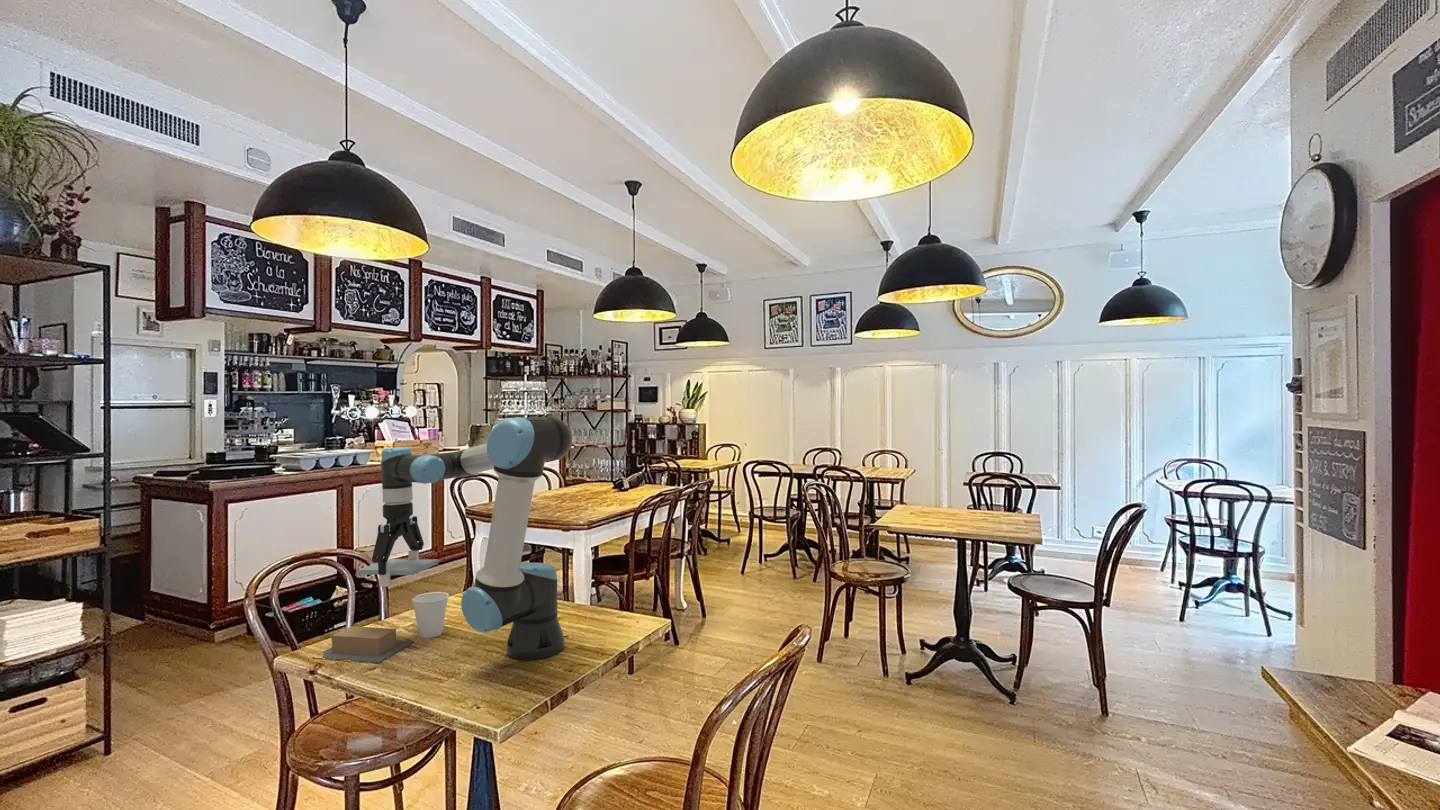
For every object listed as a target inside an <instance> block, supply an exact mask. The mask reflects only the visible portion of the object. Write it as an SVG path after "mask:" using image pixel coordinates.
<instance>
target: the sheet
mask: <svg viewBox="0 0 1440 810" xmlns="http://www.w3.org/2000/svg"><path fill="white" fill-rule="evenodd" d="M387 562H390V576H414V575H415V574H416V573H418V572H419V573H420V572H423V571H425V570H427V569H430V568H432V567H433V566H436V565H439V559H437V558H436V559H428V558H427V559H425V558H424V559H423V558H422V559H420V558H419V559H408V558H388V561H387ZM357 572H358V575H368V576H369V575H374V576H375V575H376V576H377V575H378V576H379V574H378V563H373V564H371V565H368V566H365V567H363V568H360V569H358V570H357ZM419 573H418V574H419ZM416 575H417V574H416Z"/></svg>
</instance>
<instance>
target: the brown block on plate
mask: <svg viewBox="0 0 1440 810" xmlns="http://www.w3.org/2000/svg"><path fill="white" fill-rule="evenodd" d="M414 643H415V641H414V640H399V639H397V628H386V627H385V628H384V627H370V626H369V627H368V626H353V625H352V626H351V625H350V626H349V627H347V628H344V629H343V630H340V631H338V632H336V633H334V634H331V647H329V648H326V649H325V650H324V651H322V652H323V653H324V654H323V655H324V656H323V658H325V659H335V660H334V661H336V660H351V661H359V662H358V663H364V662H371V663H370V664H378V663H379V664H382V663H383V662H384V661H386V660H388V659H390V658H391V657H393V656H394V655H396V654H398V653H399V652H401V651H403V650H405V649H406V648H408V647H410V646H412V645H413V644H414ZM382 661H383V662H382Z"/></svg>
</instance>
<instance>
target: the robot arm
mask: <svg viewBox="0 0 1440 810" xmlns="http://www.w3.org/2000/svg"><path fill="white" fill-rule="evenodd" d="M572 442H573V434H572V432H571V429H570V427H569V426H568V424H567V423H566V422H564V421H563V420H561V418H558V417H554V416H536V417H533V416H531V417H519V416H518V417H517V416H516V417H511V418H507V419H503V420H501V421H499V422H498V423H497V424H496V425H494V426H493V427H492V429H491V431H490V432H489V434H488V437H487V440H486V443H484V444H483V443H482V444H479V445H476V446H472V447H469V448H465V449H461V450H458V451H451V452H442V453H441V452H439V453H429V454H428V453H427V454H412V449H411V448H410V447H407V446H400V447H399V446H398V447H396V446H395V447H386V448H383V449H382V451H381V459H380V460H381V461H380V467H381V469H380V470H381V472H380V473H381V486H382V487H381V488H382V491H381V492H382V503H384V504H383V505H382V517H383V518H384V519H385V520H386V522H385V524H378V526H377V535H376V541H375V544H374V548H373V553H372V557H371V562H372V563H373V564H375V563H378V574H379V575H378V576H379V577H378V578H379V579H378V582H379V583H378V584H379V585H378V586H379V588H380V587H386V588H387V587H391V575H390V562H387V561H388V559H390V555H391V554H392V553H391V552H392V550H393V548H394V545H395V543H396V540H398V539H399V538H400V537H402V538H403V540H404V542H405V543H406V544H407V546H408V548H409V550H408V551H407V553H408V557H407V559H420V551H422V550H423V548H424V546H425V542H424V538H423V536H422V533H421V530H420V528H419V523H418V516H416V515H415V516H413V514H414V504H413V502H412V501H413V499H414V496H413V495H414V494H413V483H415V484H417V483H418V484H424V485H426V484H435V483H437V482H438V481H444V480H449V479H455V478H456V479H457V478H468V477H471V476H474V475H477V474H478V473H483V472H487V471H490V470H493V471H494V472H495V474H496V475H497V476H498V481H497V485H496V491H495V498H494V503H493V510H492V515H491V522H490V527H489V533H488V540H487V546H486V552H485V557H484V563H483V564H484V565H483V567H481V568H479V569H478V571H476V573H475V579H474V583H473V584H474V585H473V586H470V587H468V588H467V589H466V590H465V591H464V592H463V593H462V596H461V599H460V600H461V601H460V605H461V606H460V608H461V612H462V615H463V617H464V618H465V620H466V622H467V624H468V625H469V626H470V627H471V628H472V629H473V630H475V631H477V632H478V633H482V634H483V633H489V632H492V631H498V630H499V629H501V628H502V627H505V626H507V625H508V624H509V625H510V624H511V623H512V625H511V629H510V632H509V634H508V638H507V641H506V655H507V656H509V658H512V659H514V660H515V659H516V660H521V661H522V660H526V661H527V660H528V661H531V660H539V659H544V658H549V657H552V656H554V655H556V654H558V653H559V651H560V652H562V650H564V648H565V636H564V632H563V629H562V627H561V624H560V621H559V617H558V581H559V579H558V576H557V568H556V567H555V565H553V564H550V563H545V562H522V558H523V551H524V547H525V540H526V533H527V528H528V522H529V518H530V517H529V516H530V511H531V510H530V509H531V505H532V499H533V492H534V487H535V482H536V481H537V480H538V479H540V478H541V477H542V476H543V474H544V473H543V472H544V468H545V464H546V463H550V462H551V463H552V462H556V461H557V460H560V459H562V458H563V457H565V456H566V455H567V454H568V453H569V451H570V449H571V447H572ZM418 574H420V572H418V573H416V575H418ZM563 647H564V648H563Z"/></svg>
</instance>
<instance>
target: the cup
mask: <svg viewBox="0 0 1440 810" xmlns="http://www.w3.org/2000/svg"><path fill="white" fill-rule="evenodd" d="M449 597H450V595H449V593H447V592H444V591H443V592H442V591H434V592H433V591H431V592H425V593H421V594H418V595H415V596H414V597H412V598H411V599H410V601H411V603H412V607H413V611H414V615H415V620H416V626H417V631H418V636H419V637H420V638H421V639H433V638H436V637H440V636H441V635H442V634H443V631H444V624H445V618H446V612H447V606H448V598H449Z"/></svg>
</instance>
